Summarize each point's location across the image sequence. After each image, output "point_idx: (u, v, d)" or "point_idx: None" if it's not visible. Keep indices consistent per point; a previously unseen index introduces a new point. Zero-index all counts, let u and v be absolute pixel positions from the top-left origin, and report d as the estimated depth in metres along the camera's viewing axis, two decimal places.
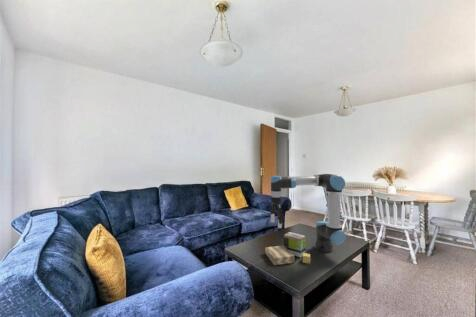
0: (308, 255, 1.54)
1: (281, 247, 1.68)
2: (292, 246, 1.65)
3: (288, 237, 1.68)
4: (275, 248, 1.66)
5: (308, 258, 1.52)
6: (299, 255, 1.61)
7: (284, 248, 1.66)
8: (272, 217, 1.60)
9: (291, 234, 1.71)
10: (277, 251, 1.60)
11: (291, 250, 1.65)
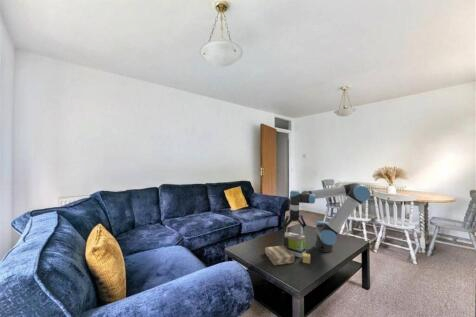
0: (308, 255, 1.54)
1: (281, 247, 1.68)
2: (292, 246, 1.65)
3: (288, 237, 1.68)
4: (275, 248, 1.66)
5: (308, 258, 1.52)
6: (299, 255, 1.61)
7: (284, 248, 1.66)
8: (301, 229, 1.71)
9: (291, 234, 1.71)
10: (277, 251, 1.60)
11: (291, 251, 1.65)
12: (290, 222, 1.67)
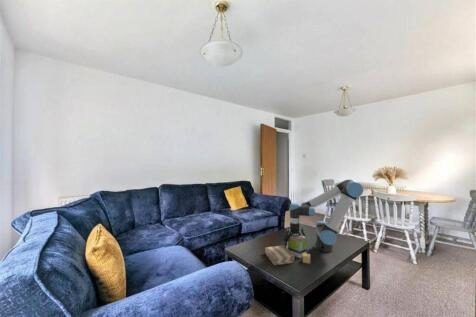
0: (308, 255, 1.54)
1: (281, 247, 1.68)
2: (291, 246, 1.65)
3: None
4: (275, 248, 1.66)
5: (308, 258, 1.52)
6: (298, 256, 1.60)
7: (284, 248, 1.66)
8: None
9: None
10: (277, 251, 1.60)
11: (291, 251, 1.65)
12: (291, 235, 1.67)
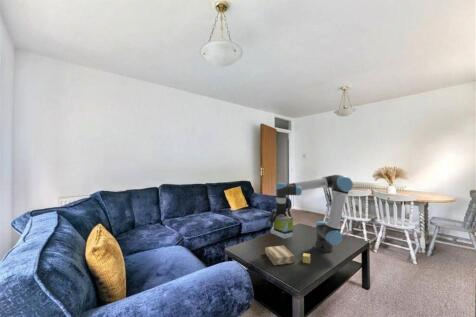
0: (308, 255, 1.54)
1: (281, 247, 1.68)
2: (277, 227, 1.58)
3: None
4: (275, 248, 1.66)
5: (308, 258, 1.52)
6: (283, 236, 1.53)
7: (284, 248, 1.66)
8: None
9: (278, 215, 1.63)
10: (277, 251, 1.60)
11: (276, 231, 1.58)
12: None
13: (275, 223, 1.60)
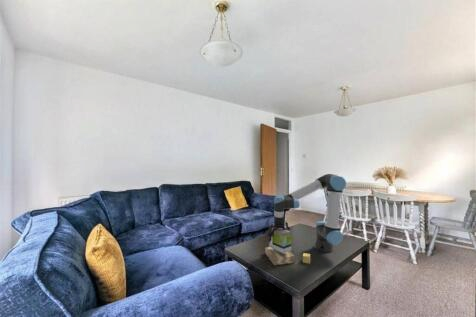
0: (308, 255, 1.54)
1: None
2: (275, 241, 1.57)
3: None
4: None
5: (308, 258, 1.52)
6: (282, 251, 1.52)
7: None
8: None
9: None
10: (277, 251, 1.60)
11: (275, 245, 1.57)
12: None
13: (273, 237, 1.58)
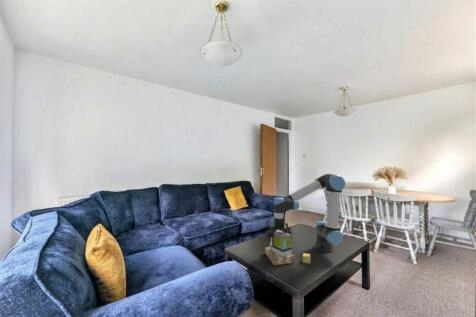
0: (308, 255, 1.54)
1: None
2: (275, 244, 1.57)
3: (273, 234, 1.60)
4: None
5: (308, 258, 1.52)
6: (281, 254, 1.52)
7: None
8: None
9: (277, 232, 1.62)
10: None
11: (275, 249, 1.57)
12: None
13: (274, 240, 1.59)
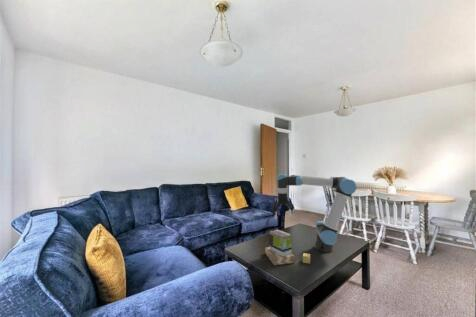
0: (308, 255, 1.54)
1: None
2: (275, 244, 1.57)
3: (273, 234, 1.60)
4: None
5: (308, 258, 1.52)
6: (281, 254, 1.52)
7: None
8: (289, 212, 1.73)
9: (277, 232, 1.62)
10: None
11: (275, 249, 1.57)
12: (279, 205, 1.68)
13: (274, 240, 1.59)
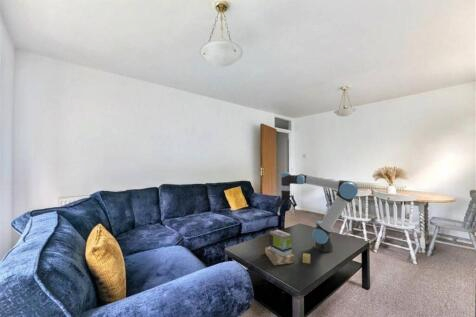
0: (308, 255, 1.54)
1: None
2: (275, 244, 1.57)
3: (273, 234, 1.60)
4: None
5: (308, 258, 1.52)
6: (281, 254, 1.52)
7: None
8: (292, 209, 1.82)
9: (277, 232, 1.62)
10: None
11: (275, 249, 1.57)
12: None
13: (274, 240, 1.59)
